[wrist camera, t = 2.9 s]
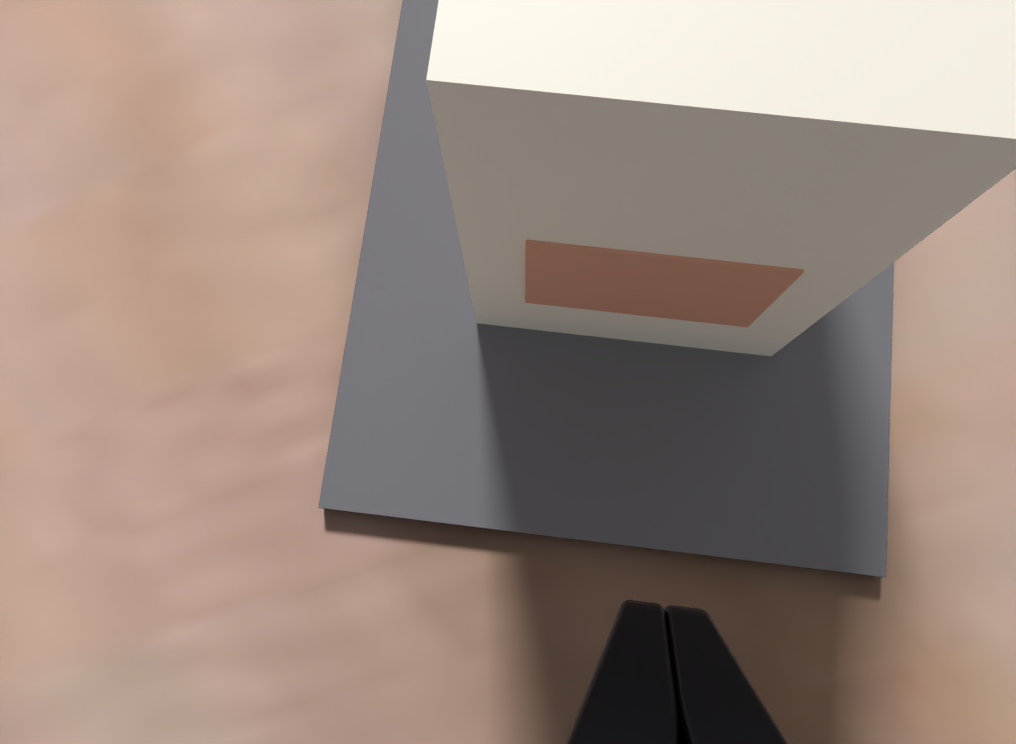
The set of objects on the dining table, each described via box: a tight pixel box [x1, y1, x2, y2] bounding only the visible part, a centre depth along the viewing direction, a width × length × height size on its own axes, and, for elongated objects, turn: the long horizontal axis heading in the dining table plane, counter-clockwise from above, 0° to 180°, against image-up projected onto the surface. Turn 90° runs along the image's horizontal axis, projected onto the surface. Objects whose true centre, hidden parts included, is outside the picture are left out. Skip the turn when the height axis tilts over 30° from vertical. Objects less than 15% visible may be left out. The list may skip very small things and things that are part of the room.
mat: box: [318, 0, 894, 577], centre depth 18 cm, size 19×11×1 cm, turn 173°
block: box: [426, 0, 1016, 356], centre depth 13 cm, size 6×6×9 cm
